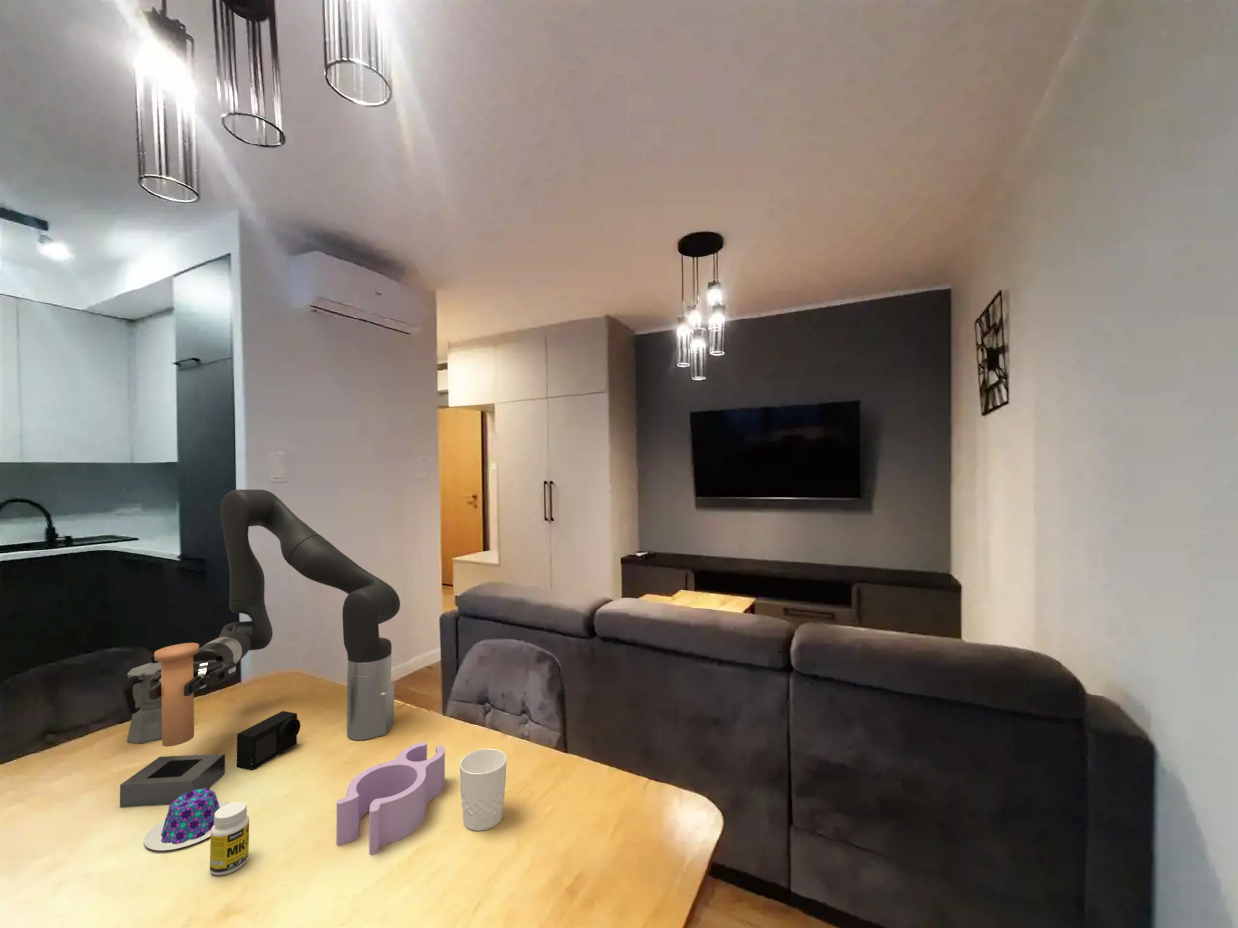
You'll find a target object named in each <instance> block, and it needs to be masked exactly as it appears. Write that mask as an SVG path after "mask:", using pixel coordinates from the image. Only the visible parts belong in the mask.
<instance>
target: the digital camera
mask: <svg viewBox="0 0 1238 928" xmlns="http://www.w3.org/2000/svg"><path fill="white" fill-rule="evenodd" d="M300 730H301V721H300V720H299V719H298V713H297V712H292V711H285V710H281V711H280V712H278V713H275V714H273V715H271V716H270V717H268V718H265V719H264V720H261V721H260V722H258V723H256V724H253V725H251V726H250V727H248V728H246V729H244V730H242V731H240V732H238V733H237V734H236V768H238V769H242V770H243V769H244V770H247V771H254V770H256V769H258V768H259V767H262V766H263V765H265V764H266V763H268V762H270V761H271V760H273V759H275V758H277V757H278V756H280V755H282V754H283V753H285V752H287V751H288V750H290V749H291V748H293V747H295V746H296V745H297V744H298V742H297V741H298V739H297V737H298V734H299V733H300Z"/></svg>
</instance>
